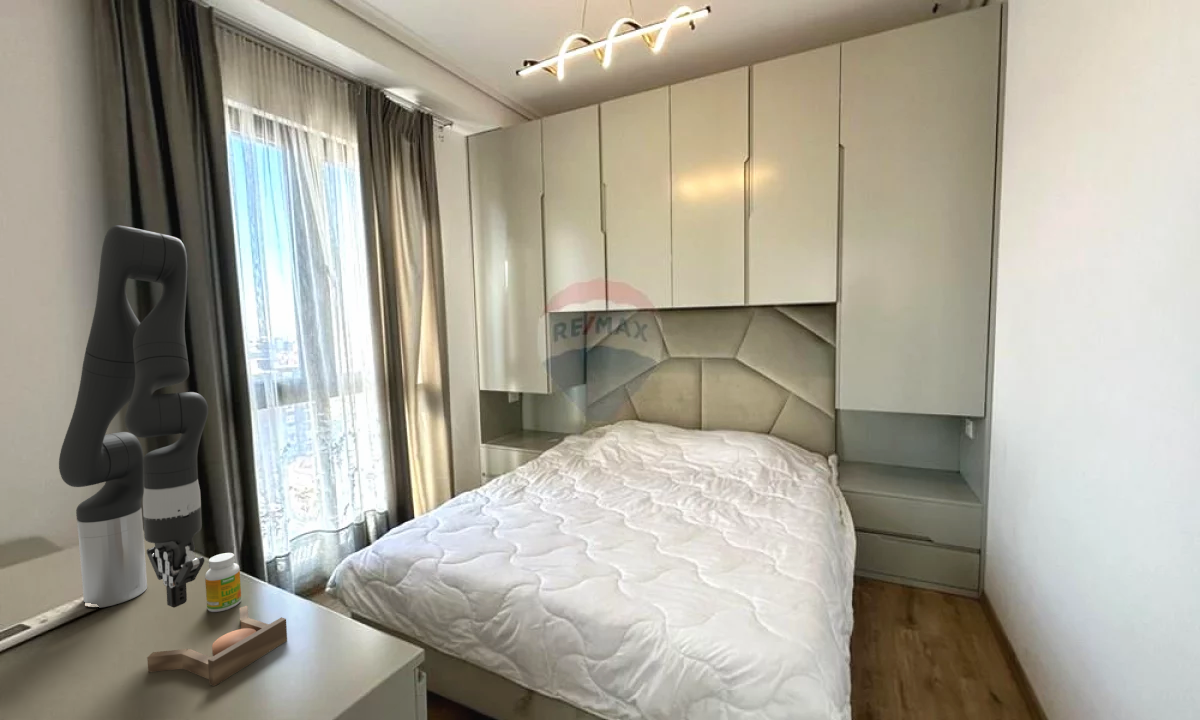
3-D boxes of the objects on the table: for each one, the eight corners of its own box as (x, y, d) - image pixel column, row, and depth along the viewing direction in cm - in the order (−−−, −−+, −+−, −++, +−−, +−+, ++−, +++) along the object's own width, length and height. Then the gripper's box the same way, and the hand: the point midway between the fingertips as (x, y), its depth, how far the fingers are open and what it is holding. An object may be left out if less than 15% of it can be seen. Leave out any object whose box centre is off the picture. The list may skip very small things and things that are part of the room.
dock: (146, 671, 78) (144, 647, 78) (246, 617, 93) (244, 597, 92) (200, 694, 73) (198, 669, 73) (297, 634, 88) (296, 612, 87)
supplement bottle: (222, 614, 94) (219, 565, 93) (199, 611, 95) (196, 562, 94) (248, 598, 99) (245, 552, 98) (226, 595, 100) (223, 549, 99)
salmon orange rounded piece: (204, 661, 81) (203, 646, 81) (240, 639, 87) (239, 625, 87) (230, 668, 79) (229, 653, 79) (265, 645, 85) (265, 631, 85)
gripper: (124, 509, 84) (129, 606, 85) (169, 523, 79) (174, 626, 80) (176, 495, 91) (180, 585, 92) (220, 507, 86) (224, 602, 87)
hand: (177, 604), depth 86 cm, fingers closed
